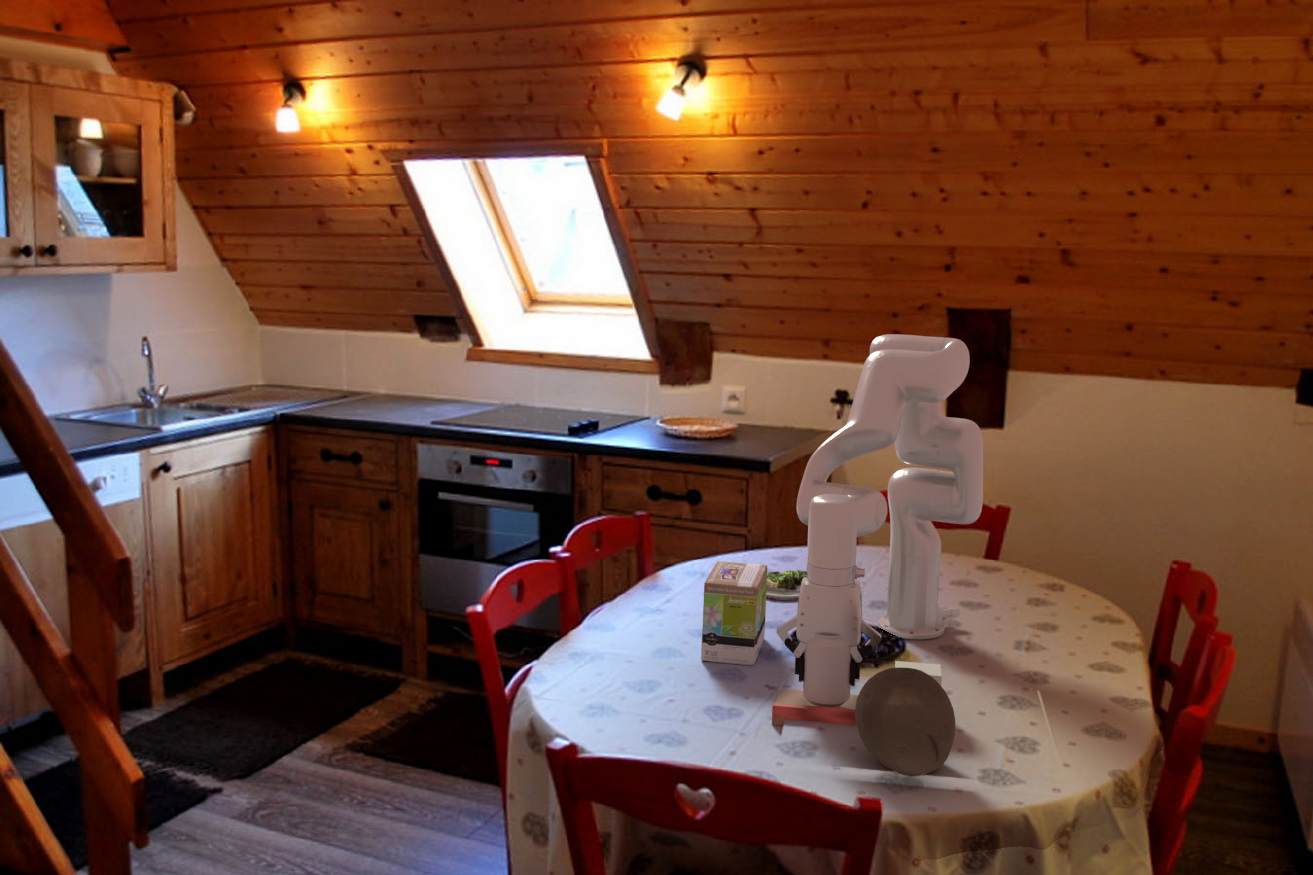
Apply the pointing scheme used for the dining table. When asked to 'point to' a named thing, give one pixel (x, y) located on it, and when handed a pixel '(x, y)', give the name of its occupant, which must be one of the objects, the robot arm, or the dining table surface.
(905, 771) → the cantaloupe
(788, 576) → the salad plate
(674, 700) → the dining table surface
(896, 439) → the robot arm
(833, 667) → the can
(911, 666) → the cream rectangular block
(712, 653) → the tea box
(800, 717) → the shelf board
